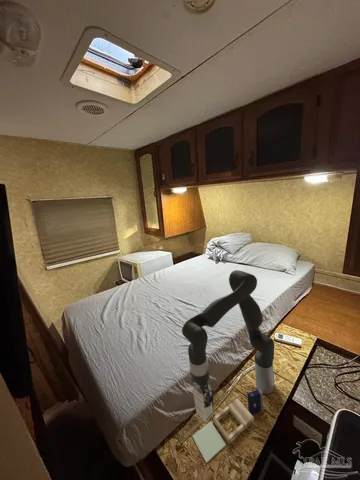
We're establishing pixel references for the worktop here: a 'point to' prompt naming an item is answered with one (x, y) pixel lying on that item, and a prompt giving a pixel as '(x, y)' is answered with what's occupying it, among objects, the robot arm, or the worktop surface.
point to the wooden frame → (239, 414)
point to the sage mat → (208, 441)
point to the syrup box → (202, 404)
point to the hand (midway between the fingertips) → (203, 398)
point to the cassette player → (255, 401)
